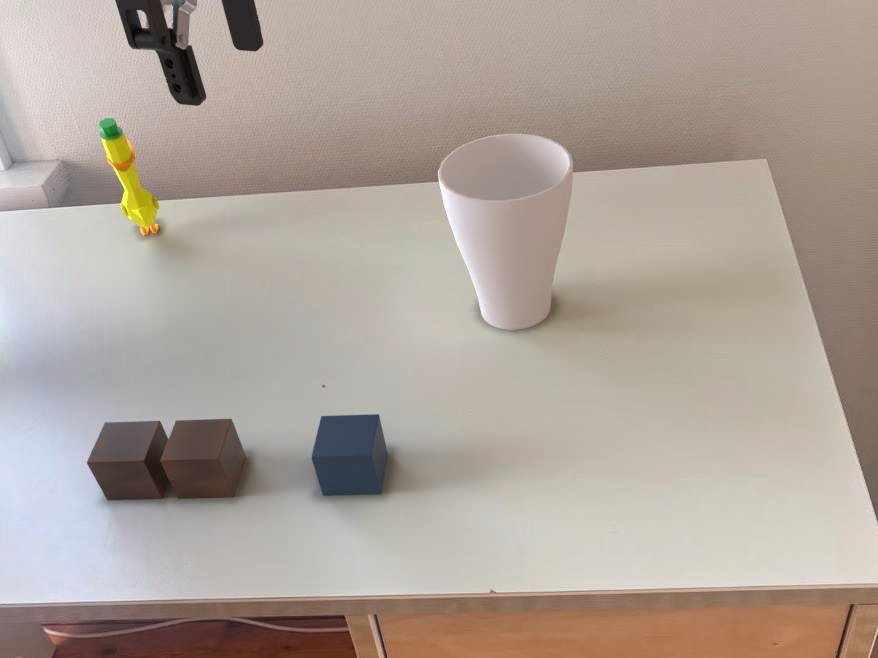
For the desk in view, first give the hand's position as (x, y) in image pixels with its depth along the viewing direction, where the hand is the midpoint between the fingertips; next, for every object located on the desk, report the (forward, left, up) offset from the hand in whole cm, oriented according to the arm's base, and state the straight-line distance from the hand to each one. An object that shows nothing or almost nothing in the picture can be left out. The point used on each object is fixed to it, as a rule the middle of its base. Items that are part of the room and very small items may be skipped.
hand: (221, 75), depth 69 cm
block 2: (-3, -18, -22) cm, 29 cm away
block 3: (+8, -18, -22) cm, 30 cm away
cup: (+20, +2, -23) cm, 30 cm away
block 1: (-9, -18, -22) cm, 30 cm away
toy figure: (-18, +18, -23) cm, 34 cm away
